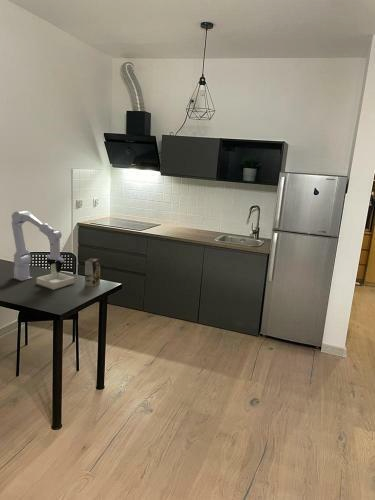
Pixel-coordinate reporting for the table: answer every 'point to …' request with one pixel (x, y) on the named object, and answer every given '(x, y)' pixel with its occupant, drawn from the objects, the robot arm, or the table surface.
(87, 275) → the coffee box
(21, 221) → the robot arm
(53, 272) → the sage green capsule
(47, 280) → the white bin
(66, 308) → the table surface
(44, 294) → the table surface
